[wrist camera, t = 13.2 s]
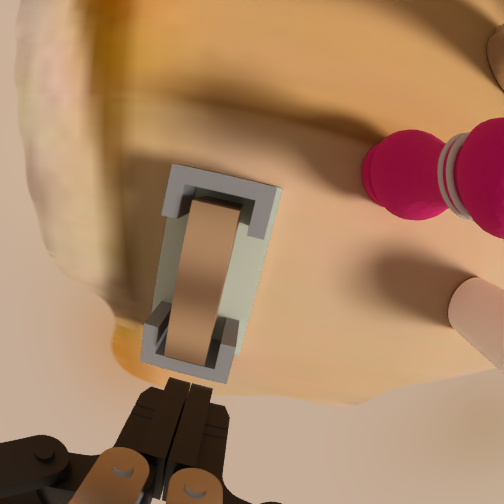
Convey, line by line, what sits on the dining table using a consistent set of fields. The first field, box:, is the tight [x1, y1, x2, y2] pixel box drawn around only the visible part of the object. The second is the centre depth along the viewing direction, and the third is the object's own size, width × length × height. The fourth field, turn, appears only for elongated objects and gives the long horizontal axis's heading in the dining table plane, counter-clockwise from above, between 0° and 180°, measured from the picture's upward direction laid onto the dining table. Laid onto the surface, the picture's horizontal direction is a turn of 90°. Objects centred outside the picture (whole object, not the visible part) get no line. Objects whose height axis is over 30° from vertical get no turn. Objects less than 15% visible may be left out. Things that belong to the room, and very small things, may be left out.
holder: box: [140, 164, 283, 384], centre depth 26 cm, size 16×9×6 cm, turn 166°
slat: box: [164, 196, 244, 366], centre depth 25 cm, size 12×3×6 cm, turn 166°
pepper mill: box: [362, 118, 504, 239], centre depth 17 cm, size 7×7×20 cm
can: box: [448, 277, 504, 373], centre depth 24 cm, size 6×6×12 cm
